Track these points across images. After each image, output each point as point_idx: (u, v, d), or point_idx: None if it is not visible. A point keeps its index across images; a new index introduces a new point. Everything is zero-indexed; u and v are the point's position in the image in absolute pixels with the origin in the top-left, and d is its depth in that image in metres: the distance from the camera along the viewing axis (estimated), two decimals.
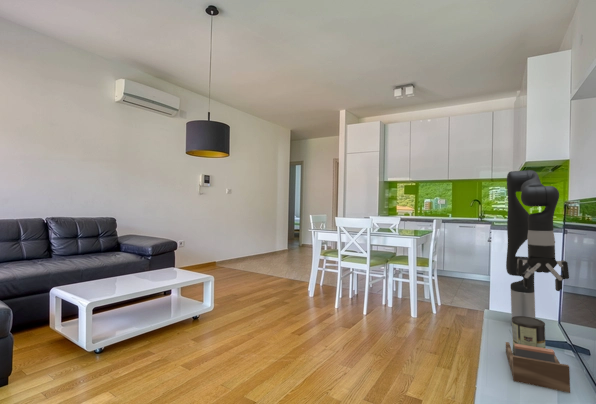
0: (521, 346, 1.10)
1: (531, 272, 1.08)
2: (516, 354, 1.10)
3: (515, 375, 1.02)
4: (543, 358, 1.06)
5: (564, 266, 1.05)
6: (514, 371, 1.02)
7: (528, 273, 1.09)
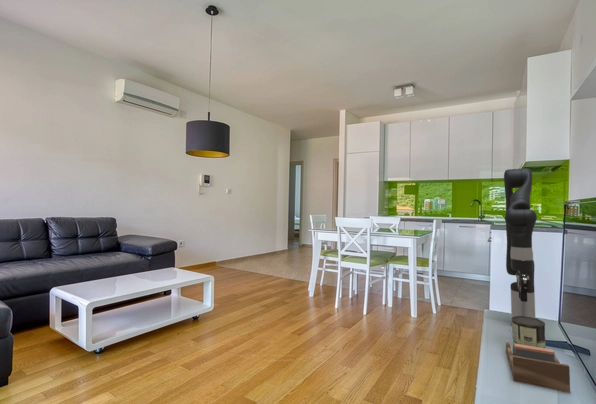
0: (521, 346, 1.10)
1: None
2: (516, 354, 1.10)
3: (515, 375, 1.02)
4: (543, 358, 1.06)
5: None
6: (514, 371, 1.02)
7: (527, 287, 1.24)
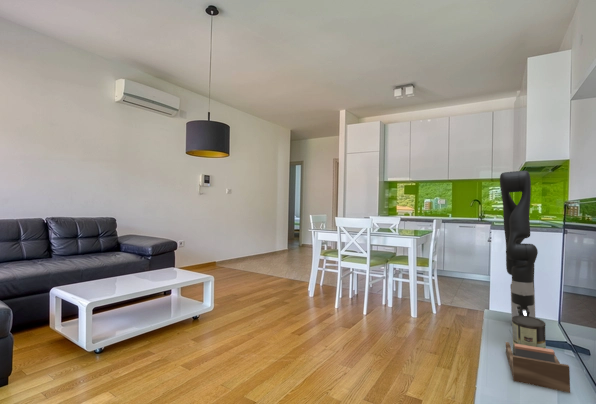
0: (521, 346, 1.10)
1: None
2: (516, 354, 1.10)
3: (515, 375, 1.02)
4: (543, 358, 1.06)
5: None
6: (514, 371, 1.02)
7: None
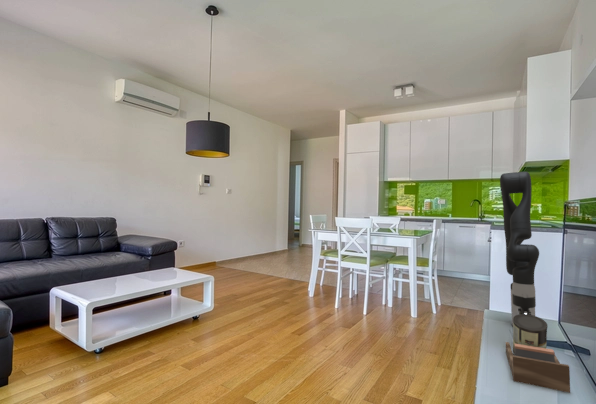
0: (521, 346, 1.10)
1: None
2: (516, 354, 1.10)
3: (515, 375, 1.02)
4: (543, 358, 1.06)
5: None
6: (514, 371, 1.02)
7: None
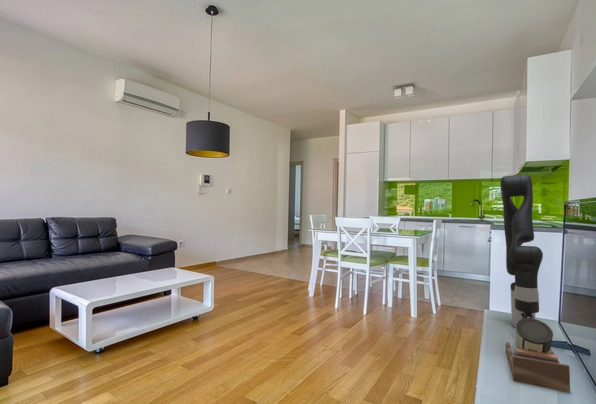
0: (523, 351, 1.06)
1: None
2: None
3: (515, 375, 1.02)
4: None
5: None
6: (514, 371, 1.02)
7: None
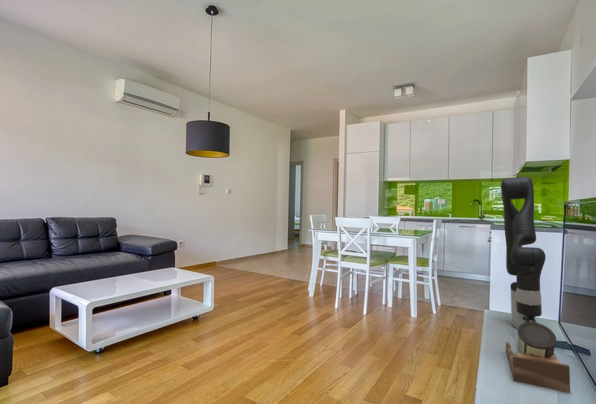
0: (525, 356, 1.02)
1: None
2: None
3: (515, 375, 1.02)
4: None
5: None
6: (514, 371, 1.02)
7: None
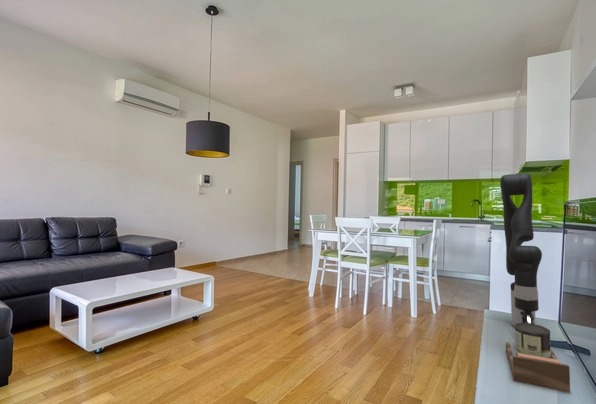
0: (525, 356, 1.02)
1: None
2: None
3: (515, 375, 1.02)
4: None
5: None
6: (514, 371, 1.02)
7: None
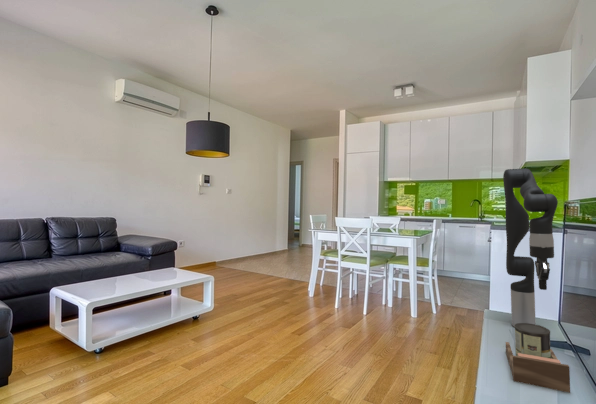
0: (525, 356, 1.02)
1: None
2: None
3: (515, 375, 1.02)
4: None
5: None
6: (514, 371, 1.02)
7: None
